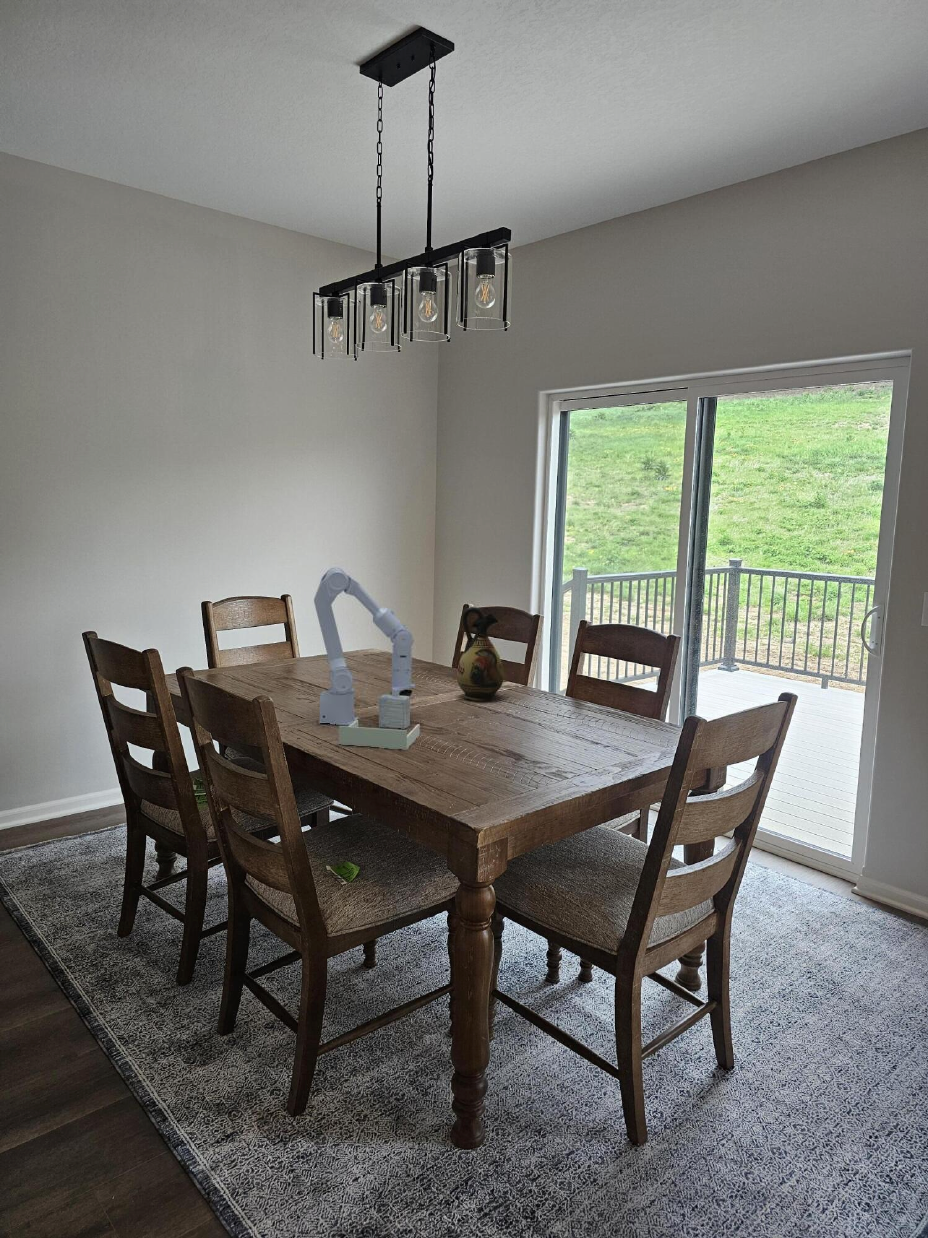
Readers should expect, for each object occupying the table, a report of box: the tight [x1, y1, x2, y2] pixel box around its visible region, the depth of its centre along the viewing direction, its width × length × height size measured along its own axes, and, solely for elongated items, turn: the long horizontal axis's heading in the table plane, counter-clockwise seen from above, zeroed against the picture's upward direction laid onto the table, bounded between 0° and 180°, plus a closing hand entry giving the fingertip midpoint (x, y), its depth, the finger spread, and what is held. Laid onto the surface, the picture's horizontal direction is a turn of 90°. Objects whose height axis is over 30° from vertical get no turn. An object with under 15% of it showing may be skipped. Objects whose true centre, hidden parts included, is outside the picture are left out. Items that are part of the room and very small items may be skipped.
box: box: [338, 719, 421, 751], centre depth 216 cm, size 18×15×5 cm
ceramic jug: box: [456, 606, 505, 703], centre depth 265 cm, size 17×15×30 cm
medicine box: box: [378, 694, 411, 730], centre depth 229 cm, size 8×4×9 cm, turn 74°
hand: (401, 715), depth 237 cm, fingers closed
